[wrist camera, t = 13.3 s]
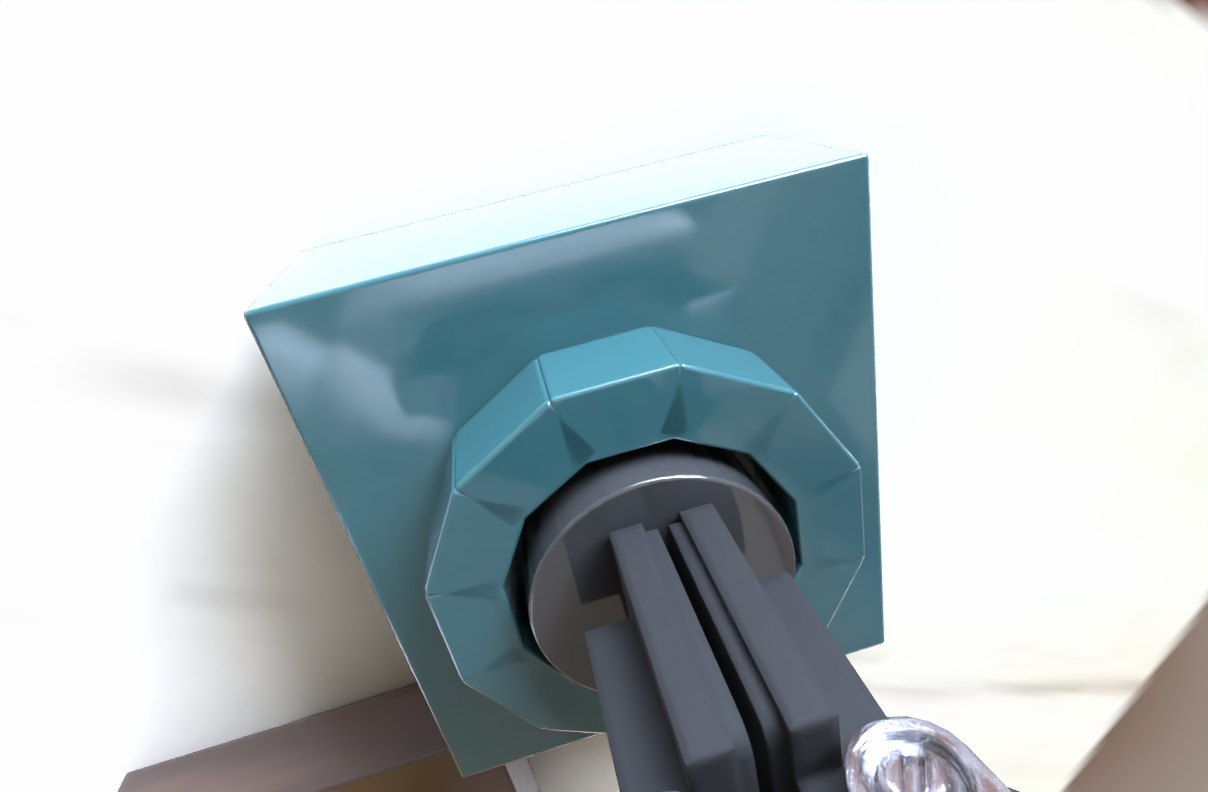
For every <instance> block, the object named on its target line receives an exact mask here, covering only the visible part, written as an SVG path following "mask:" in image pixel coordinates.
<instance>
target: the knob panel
mask: <svg viewBox="0 0 1208 792" xmlns="http://www.w3.org/2000/svg"><path fill="white" fill-rule="evenodd" d="M118 792H540V789H539V787H538V784H537V782H536V779H535V776H534V774H533V771H532V769H531V766H530V764H529V761H528V759H527V757H526V758H523V759H520V760H517V761H514V762H511V763H508V764H505V765H502V766H498V767H495V768H492V769H489V770H486V771H483V772H480V773H477V774H473V775H470V776H467V777H462V776H461V774H460V772H459V770H458V768H457V765H456V763H455V761H454V759H453V757H452V755H451V753H450V751H449V749H448V746H447V744H446V742H445V740H444V738H443V736H442V734H441V732H440V730H439V727H438V725H437V723H436V721H435V719H434V717H433V715H432V713H431V711H430V708H429V706H428V704H427V702H426V700H425V698H424V696H423V694H422V692H421V689H420V687H419V685H418V684H415V685H412V686H409V687H406V688H402V689H399V690H396V691H393V692H389V693H386V694H383V695H380V696H376V697H373V698H370V699H367V700H363V701H360V702H357V703H354V704H350V705H347V706H344V707H341V708H337V709H334V710H331V711H328V712H324V713H321V714H318V715H315V716H311V717H308V718H305V719H302V720H298V721H295V722H292V723H289V724H285V725H282V726H279V727H276V728H272V729H269V730H266V731H263V732H259V733H256V734H253V735H250V736H246V737H243V738H240V739H237V740H233V741H230V742H227V743H224V744H220V745H217V746H214V747H211V748H207V749H204V750H201V751H198V752H194V753H191V754H188V755H184V756H181V757H178V758H175V759H171V760H168V761H165V762H162V763H158V764H155V765H152V766H149V767H145V768H142V769H139V770H136V771H132V772H129V773H128V774H127V775H126V776H125V778H124V780H123V782H122V784H121V787H120V789H119V791H118Z"/></svg>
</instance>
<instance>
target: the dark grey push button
mask: <svg viewBox="0 0 1208 792" xmlns="http://www.w3.org/2000/svg"><path fill="white" fill-rule="evenodd" d="M709 503H711V504H713V506H714V507H715V509H716V510H717V512H718V514H719V515H720V517H721V519H722V520H723V522H724V524H725V525H726V527H727V529H728V531H729V532H730V534H731V536H732V537H733V539H734V541H735V542H736V544H737V546H738V547H739V549H740V551H741V552H742V554H743V556H744V557H745V559H746V561H747V562H748V564H749V566H750V567H751V569H752V571H753V572H754V574H755V576H756V577H757V579H760V578H763V577H767V576H770V575H773V574H777V573H780V572H783V571H786V572H788V573H789V574H790V575H791V576H792V577H793V579H794V578H795V570H796V569H795V551H794V546H793V541H792V538H791V535H790V532H789V530H788V527H787V526H786V524H785V522H784V520H783V519H782V517H781V515H780V514H779V513H778V511H777V510H776V509H775V507H774V506H773V505H772V503H771V502H770V501H769V499H768V498H767V497H766V495H765V494H764V493H763V491H762V490H761V489H760V487H759V486H758V485H757V483H756V482H755V481H754V479H753V478H752V477H751V475H750V474H749V473H748V471H747V470H746V469H745V467H744V466H743V465H742V463H741V462H740V461H739V459H738V458H737V457H736V455H735V454H734V453H733V452H732V451H731V450H726V449H721V448H716V447H711V446H707V445H702V444H697V443H692V442H687V441H682V440H678V439H671V440H667V441H664V442H660V443H657V444H653V445H650V446H646V447H643V448H639V449H636V450H632V451H629V452H625V453H622V454H618V455H615V456H611V457H608V458H605V459H601V460H598V461H594V462H591V463H587V464H586V465H585V466H584V467H582V468H581V469H580V470H579V471H578V472H577V473H576V474H575V475H574V476H572V477H571V478H570V479H569V480H568V481H567V482H566V483H565V484H564V485H562V486H561V487H560V488H559V489H558V490H557V491H556V492H555V493H554V494H552V495H551V496H550V497H549V498H548V499H547V500H546V501H545V502H544V503H542V504H541V505H540V506H539V507H538V508H537V509H536V510H535V511H534V512H532V513H531V514H530V515H529V516H528V517H527V518H526V519H525V522H524V525H523V528H522V532H521V535H520V538H519V547H520V554H521V562H522V569H523V577H524V584H525V592H526V599H527V607H528V615H529V621H530V625H531V629H532V633H533V636H534V638H535V640H536V642H537V645H538V647H539V648H540V650H541V651H542V653H543V654H544V656H545V657H546V659H547V660H548V661H549V662H550V663H551V664H552V665H553V666H554V667H555V668H556V669H557V670H558V671H559V672H561V673H562V674H563V675H564V676H566V677H567V678H568V679H570V680H572V681H574V682H576V683H577V684H579V685H581V686H583V687H586V688H589V689H591V690H594V691H597V687H596V682H595V678H594V673H593V669H592V665H591V660H590V656H589V651H588V647H587V642H586V637H585V632H586V631H589V630H592V629H596V628H599V627H602V626H606V625H609V624H612V623H615V622H619V621H622V620H625V619H629V618H630V616H629V612H628V608H627V604H626V600H625V596H624V593H623V589H622V585H621V581H620V577H619V573H618V569H617V565H616V561H615V558H614V554H613V550H612V546H611V542H610V538H609V533H610V532H613V531H617V530H620V529H624V528H627V527H631V526H634V525H637V524H641V523H642V525H643V527H644V529H645V531H646V532H647V531H650V530H654V529H658V530H659V532H660V535H661V537H662V539H663V541H664V544H665V546H666V548H667V550H668V553H669V555H670V557H671V559H672V562H673V564H674V559H673V554H672V549H671V544H670V540H669V535H668V529H667V526H668V525H671V524H674V523H678V518H677V514H678V512H682V511H685V510H689V509H692V508H695V507H699V506H702V505H706V504H709ZM674 566H675V564H674ZM675 569H676V568H675ZM597 692H598V691H597Z"/></svg>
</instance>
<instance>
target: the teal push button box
mask: <svg viewBox="0 0 1208 792" xmlns="http://www.w3.org/2000/svg"><path fill="white" fill-rule="evenodd" d="M244 318H245V320H246V322H247V324H248V326H249V328H250V330H251V333H252V335H253V337H254V339H255V341H256V343H257V345H258V347H259V349H260V352H261V354H262V356H263V358H264V360H265V362H266V364H267V366H268V368H269V371H270V373H271V375H272V377H273V379H274V381H275V383H276V385H277V387H278V390H279V392H280V394H281V396H282V398H283V400H284V402H285V404H286V406H287V409H288V411H289V413H290V415H291V417H292V419H293V421H294V423H295V425H296V428H297V430H298V432H299V434H300V436H301V438H302V440H303V442H304V444H305V447H306V449H307V451H308V453H309V455H310V457H311V459H312V461H313V463H314V466H315V468H316V470H317V472H318V474H319V476H320V478H321V480H322V482H323V485H324V487H325V489H326V491H327V493H328V495H329V497H330V499H331V501H332V504H333V506H334V508H335V510H336V512H337V514H338V516H339V518H340V520H341V523H342V525H343V527H344V529H345V531H346V533H347V535H348V537H349V540H350V542H351V544H352V546H353V548H354V550H355V552H356V554H357V556H358V559H359V561H360V563H361V565H362V567H363V569H364V571H365V573H366V575H367V578H368V580H369V582H370V584H371V586H372V588H373V590H374V592H375V594H376V597H377V599H378V601H379V603H380V605H381V607H382V609H383V611H384V613H385V616H386V618H387V620H388V622H389V624H390V626H391V628H392V630H393V632H394V635H395V637H396V639H397V641H398V643H399V645H400V647H401V649H402V651H403V654H404V656H405V658H406V660H407V662H408V664H409V666H410V668H411V670H412V673H413V675H414V677H415V679H416V681H417V683H418V685H419V687H420V689H421V692H422V694H423V696H424V698H425V700H426V702H427V704H428V706H429V708H430V711H431V713H432V715H433V717H434V719H435V721H436V723H437V725H438V727H439V730H440V732H441V734H442V736H443V738H444V740H445V742H446V744H447V746H448V749H449V751H450V753H451V755H452V757H453V759H454V761H455V763H456V765H457V768H458V770H459V772H460V774H461V776H462V777H467V776H470V775H473V774H477V773H480V772H483V771H486V770H489V769H492V768H495V767H498V766H502V765H505V764H508V763H511V762H514V761H517V760H520V759H523V758H526V757H530V756H533V755H536V754H539V753H542V752H545V751H548V750H551V749H555V748H558V747H561V746H564V745H567V744H570V743H573V742H576V741H579V740H583V739H586V738H589V737H592V736H595V735H598V734H607V731H606V727H605V722H604V718H603V714H602V709H601V705H600V700H599V696H598V692H597V691H594V690H591V689H589V688H586V687H583V686H581V685H579V684H577V683H576V682H574V681H572V680H570V679H568V678H567V677H566V676H564V675H563V674H562V673H561V672H559V671H558V670H557V669H556V668H555V667H554V666H553V665H552V664H551V663H550V662H549V661H548V660H547V659H546V657H545V656H544V654H543V653H542V651H541V650H540V648H539V647H538V645H537V642H536V640H535V638H534V636H533V633H532V629H531V625H530V621H529V615H528V607H527V599H526V592H525V584H524V577H523V569H522V562H521V554H520V547H519V538H520V535H521V532H522V528H523V525H524V522H525V519H526V518H527V517H528V516H529V515H530V514H531V513H532V512H534V511H535V510H536V509H537V508H538V507H539V506H540V505H541V504H542V503H544V502H545V501H546V500H547V499H548V498H549V497H550V496H551V495H552V494H554V493H555V492H556V491H557V490H558V489H559V488H560V487H561V486H562V485H564V484H565V483H566V482H567V481H568V480H569V479H570V478H571V477H572V476H574V475H575V474H576V473H577V472H578V471H579V470H580V469H581V468H582V467H584V466H585V465H586V464H587V463H591V462H594V461H598V460H601V459H605V458H608V457H611V456H615V455H618V454H622V453H625V452H629V451H632V450H636V449H639V448H643V447H646V446H650V445H653V444H657V443H660V442H664V441H667V440H671V439H678V440H682V441H687V442H692V443H697V444H702V445H707V446H711V447H716V448H721V449H726V450H731V451H732V452H733V453H734V454H735V455H736V457H737V458H738V459H739V461H740V462H741V463H742V465H743V466H744V467H745V469H746V470H747V471H748V473H749V474H750V475H751V477H752V478H753V479H754V481H755V482H756V483H757V485H758V486H759V487H760V489H761V490H762V491H763V493H764V494H765V495H766V497H767V498H768V499H769V501H770V502H771V503H772V505H773V506H774V507H775V509H776V510H777V511H778V513H779V514H780V515H781V517H782V519H783V520H784V522H785V524H786V526H787V527H788V530H789V532H790V535H791V538H792V541H793V546H794V551H795V569H796V570H795V578H794V580H795V581H796V583H797V584H798V586H799V587H800V589H801V590H802V592H803V593H804V595H805V596H806V598H807V599H808V601H809V602H810V604H811V605H812V606H813V608H814V609H815V611H816V612H817V614H818V615H819V617H820V618H821V620H822V621H823V623H824V624H825V626H826V627H827V629H828V630H829V632H830V633H831V635H832V636H833V638H834V639H835V641H836V642H837V644H838V645H839V647H840V648H841V650H842V651H843V653H844V654H845V655H848V654H851V653H854V652H857V651H860V650H863V649H866V648H869V647H872V646H876V645H879V644H882V643H883V642H884V623H883V593H882V562H881V531H880V500H879V470H878V439H877V408H876V377H875V346H874V316H873V285H872V254H871V223H870V193H869V162H868V155H867V154H866V153H861V152H855V151H849V150H844V149H838V148H832V147H826V146H820V145H814V144H808V143H802V142H797V141H791V140H785V139H779V138H773V137H767V136H760V137H756V138H752V139H748V140H744V141H740V142H736V143H732V144H728V145H724V146H720V147H716V148H712V149H708V150H704V151H700V152H696V153H692V154H688V155H684V156H680V157H676V158H672V159H668V160H664V161H660V162H656V163H652V164H648V165H644V166H640V167H636V168H632V169H628V170H624V171H620V172H616V173H612V174H608V175H604V176H600V177H596V178H592V179H588V180H584V181H580V182H576V183H572V184H568V185H564V186H560V187H556V188H552V189H548V190H544V191H540V192H536V193H532V194H528V195H524V196H520V197H516V198H512V199H508V200H504V201H500V202H496V203H492V204H488V205H484V206H480V207H476V208H472V209H468V210H464V211H460V212H456V213H452V214H448V215H444V216H440V217H436V218H432V219H428V220H424V221H420V222H416V223H412V224H408V225H404V226H400V227H396V228H392V229H388V230H384V231H380V232H376V233H372V234H368V235H364V236H360V237H356V238H352V239H348V240H344V241H340V242H336V243H332V244H328V245H324V246H320V247H316V248H312V249H308V250H304V251H302V252H300V253H299V255H298V256H297V257H296V258H295V259H294V260H293V261H292V262H291V263H290V264H289V265H288V266H287V267H286V268H285V269H284V271H283V272H282V273H281V274H280V275H279V276H278V277H277V278H276V279H275V280H274V281H273V282H272V283H271V284H270V285H269V287H268V288H267V289H266V290H265V291H264V292H263V293H262V294H261V295H260V296H259V297H258V298H257V299H256V300H255V302H254V303H253V304H252V305H251V306H250V307H249V308H248V309H247V310H246V311H245V312H244Z"/></svg>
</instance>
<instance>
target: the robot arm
mask: <svg viewBox="0 0 1208 792" xmlns="http://www.w3.org/2000/svg"><path fill="white" fill-rule="evenodd" d="M677 518H678V523H674V524H671V525H668V526H667V529H668V535H669V540H670V544H671V549H672V554H673V559H674V564H675V566H674V564H673V562H672V559H671V557H670V555H669V553H668V550H667V548H666V546H665V544H664V541H663V539H662V537H661V535H660V532H659V530H658V529H654V530H650V531H647V532H646V531H645V529H644V527H643V525H642V523H641V524H637V525H634V526H631V527H627V528H624V529H620V530H617V531H613V532H610V533H609V538H610V542H611V546H612V550H613V554H614V558H615V561H616V565H617V569H618V573H619V577H620V581H621V585H622V589H623V593H624V596H625V600H626V604H627V608H628V612H629V616H630V618H629V619H625V620H622V621H619V622H615V623H612V624H609V625H606V626H602V627H599V628H596V629H592V630H589V631H586V632H585V637H586V642H587V647H588V651H589V656H590V660H591V665H592V669H593V673H594V678H595V682H596V687H597V691H598V696H599V700H600V705H601V709H602V714H603V718H604V722H605V727H606V731H607V736H608V740H609V745H610V749H611V754H612V758H613V762H614V767H615V771H616V776H617V780H618V785H619V789H620V792H1019V791H1016V790H1014V789H1011V788H1008V787H1006V786H1005V785H1004V784H1003V783H1002V782H1001V781H1000V780H999V779H998V778H997V777H996V775H995V774H994V773H993V772H992V771H991V770H990V769H989V768H988V767H987V766H986V765H985V764H984V763H983V762H982V761H981V760H980V759H979V758H978V757H977V756H976V755H975V754H974V753H973V752H972V751H971V750H970V749H969V748H968V747H967V746H966V745H965V744H964V743H963V742H961V741H960V740H959V739H958V738H956V737H955V736H954V735H953V734H951V733H950V732H949V731H947V730H945V729H943V728H941V727H939V726H937V725H935V724H933V723H931V722H929V721H925V720H920V719H916V718H911V717H886V715H885V714H884V712H883V711H882V709H881V708H880V706H879V705H878V703H877V702H876V701H875V699H874V698H873V696H872V695H871V693H870V692H869V690H868V689H867V687H866V686H865V684H864V683H863V681H862V680H861V678H860V677H859V675H858V674H857V672H856V671H855V669H854V668H853V666H852V665H851V663H850V662H849V660H848V659H847V657H846V656H845V654H844V653H843V651H842V650H841V648H840V647H839V645H838V644H837V642H836V641H835V639H834V638H833V636H832V635H831V633H830V632H829V630H828V629H827V627H826V626H825V624H824V623H823V621H822V620H821V618H820V617H819V615H818V614H817V612H816V611H815V609H814V608H813V606H812V605H811V604H810V602H809V601H808V599H807V598H806V596H805V595H804V593H803V592H802V590H801V589H800V587H799V586H798V584H797V583H796V581H795V580H794V579H793V577H792V576H791V575H790V574H789V573H788V572H786V571H783V572H780V573H777V574H773V575H770V576H767V577H763V578H760V579H757V577H756V576H755V574H754V572H753V571H752V569H751V567H750V566H749V564H748V562H747V561H746V559H745V557H744V556H743V554H742V552H741V551H740V549H739V547H738V546H737V544H736V542H735V541H734V539H733V537H732V536H731V534H730V532H729V531H728V529H727V527H726V525H725V524H724V522H723V520H722V519H721V517H720V515H719V514H718V512H717V510H716V509H715V507H714V506H713V504H711V503H709V504H706V505H702V506H699V507H695V508H692V509H689V510H685V511H682V512H678V514H677ZM675 568H676V569H675Z"/></svg>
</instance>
